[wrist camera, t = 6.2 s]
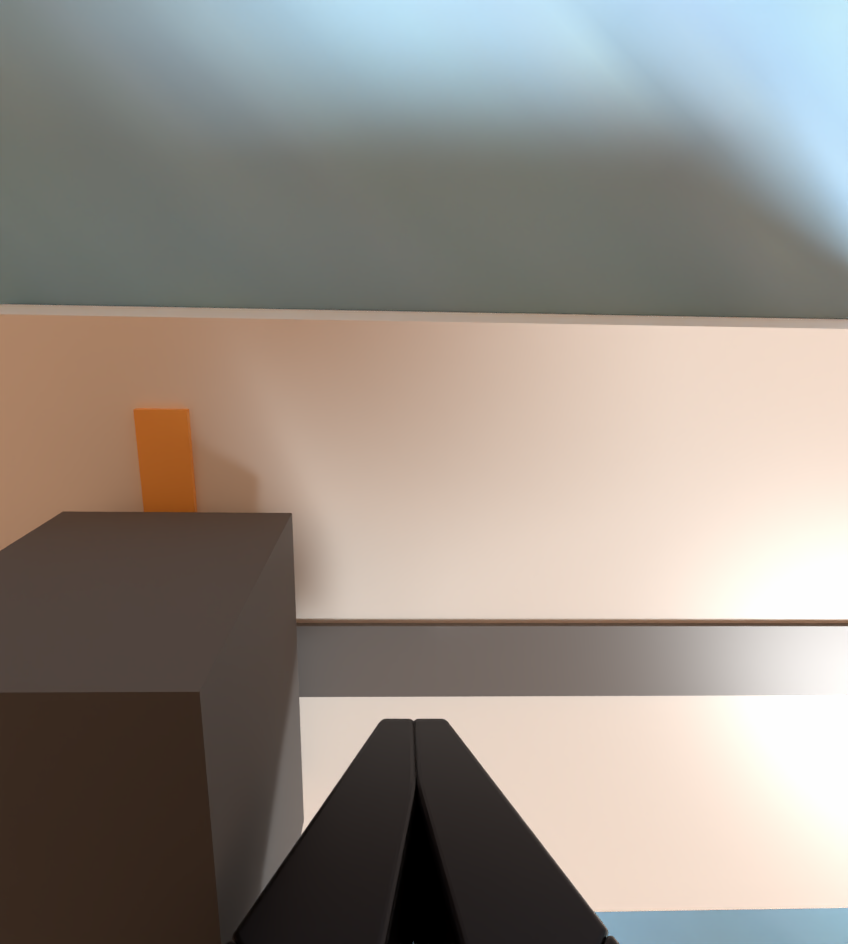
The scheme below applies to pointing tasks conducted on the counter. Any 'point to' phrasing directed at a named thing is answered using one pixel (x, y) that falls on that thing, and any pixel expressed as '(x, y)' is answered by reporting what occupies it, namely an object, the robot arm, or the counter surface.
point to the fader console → (512, 552)
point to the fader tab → (146, 725)
